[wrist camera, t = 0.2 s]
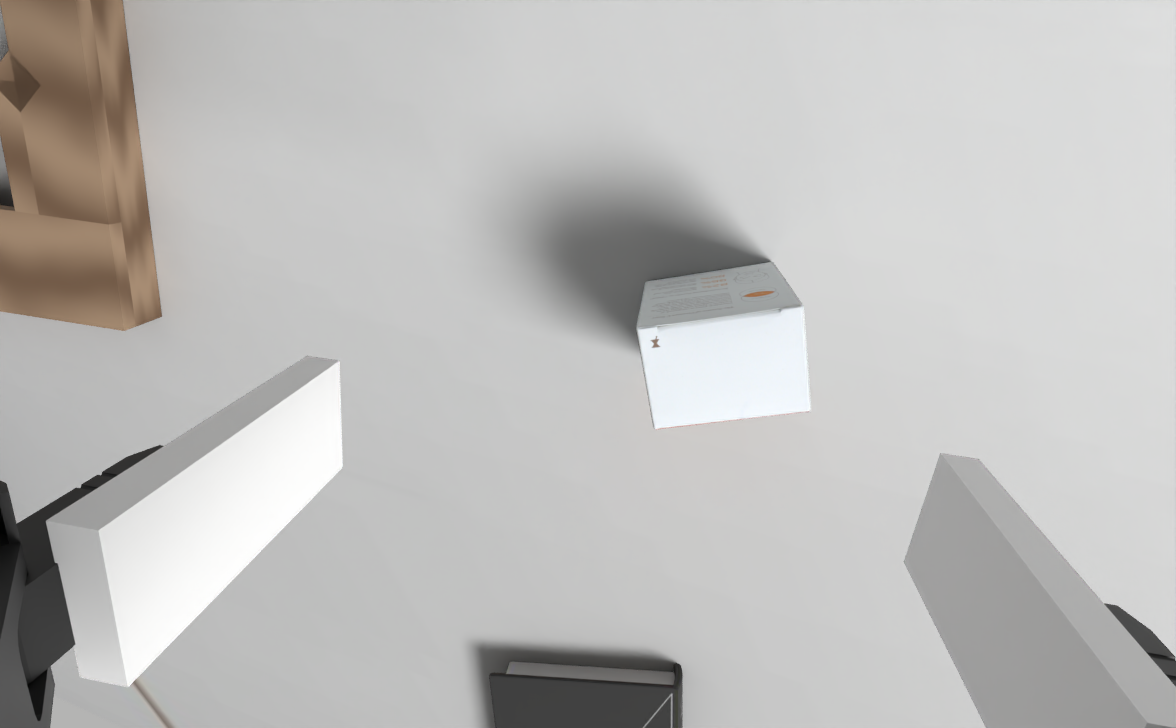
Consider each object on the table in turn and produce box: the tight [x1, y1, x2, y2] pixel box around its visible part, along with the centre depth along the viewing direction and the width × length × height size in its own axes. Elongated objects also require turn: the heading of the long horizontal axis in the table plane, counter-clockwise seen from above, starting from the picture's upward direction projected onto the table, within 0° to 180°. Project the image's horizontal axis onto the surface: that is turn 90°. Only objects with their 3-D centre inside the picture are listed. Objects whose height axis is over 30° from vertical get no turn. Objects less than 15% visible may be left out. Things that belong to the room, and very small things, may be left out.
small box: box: [636, 262, 811, 430], centre depth 37 cm, size 8×6×10 cm
